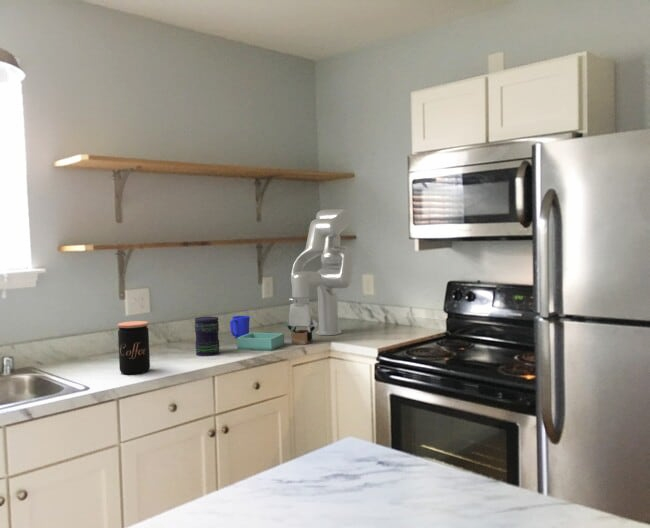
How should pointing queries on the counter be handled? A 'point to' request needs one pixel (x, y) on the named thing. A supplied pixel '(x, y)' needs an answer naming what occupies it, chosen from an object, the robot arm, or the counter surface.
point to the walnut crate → (300, 337)
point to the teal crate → (260, 341)
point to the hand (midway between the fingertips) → (302, 340)
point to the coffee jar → (133, 347)
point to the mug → (239, 326)
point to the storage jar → (207, 336)
